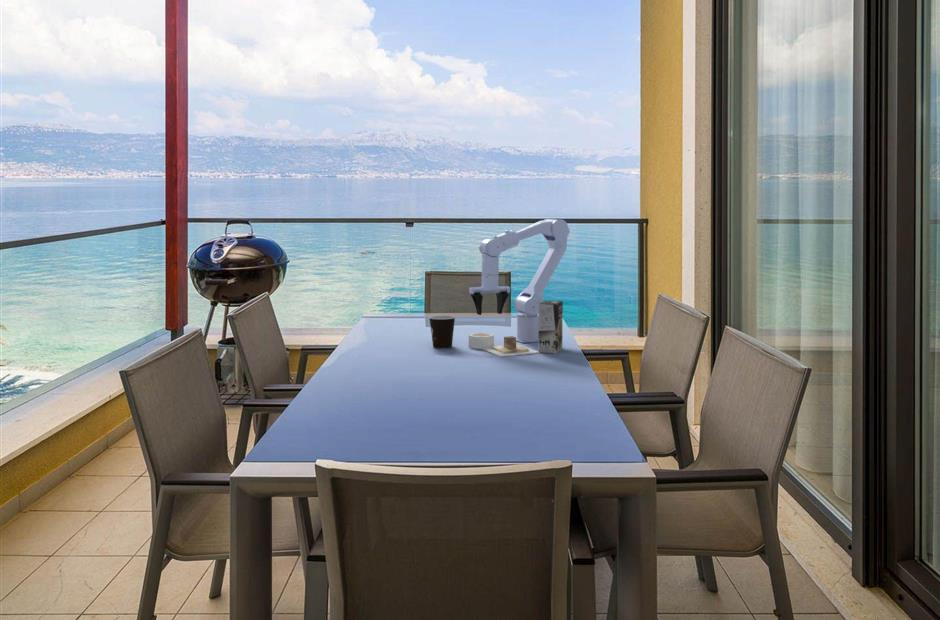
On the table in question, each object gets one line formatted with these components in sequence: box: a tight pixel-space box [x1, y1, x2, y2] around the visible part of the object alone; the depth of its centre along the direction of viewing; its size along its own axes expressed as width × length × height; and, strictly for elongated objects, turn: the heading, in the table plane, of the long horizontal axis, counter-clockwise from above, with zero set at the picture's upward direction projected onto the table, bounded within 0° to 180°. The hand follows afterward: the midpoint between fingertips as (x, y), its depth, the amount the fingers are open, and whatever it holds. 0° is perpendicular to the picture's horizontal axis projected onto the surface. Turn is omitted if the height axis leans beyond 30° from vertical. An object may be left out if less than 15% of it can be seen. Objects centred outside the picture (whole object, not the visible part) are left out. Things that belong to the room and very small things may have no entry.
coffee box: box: [537, 300, 564, 354], centre depth 279 cm, size 9×6×16 cm
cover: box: [492, 335, 530, 354], centre depth 279 cm, size 9×9×4 cm
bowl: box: [468, 332, 495, 350], centre depth 287 cm, size 8×8×4 cm
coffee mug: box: [428, 314, 456, 349], centre depth 289 cm, size 12×9×10 cm
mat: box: [481, 344, 540, 358], centre depth 279 cm, size 14×14×1 cm
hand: (489, 314), depth 291 cm, fingers open, 7 cm apart
